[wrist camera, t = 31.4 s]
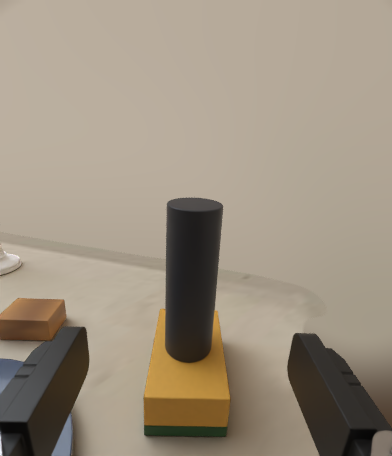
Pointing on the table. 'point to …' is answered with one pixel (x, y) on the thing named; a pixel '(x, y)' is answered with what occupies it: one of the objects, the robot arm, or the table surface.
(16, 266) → the chess piece
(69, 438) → the plate
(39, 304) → the orange brown rectangular block
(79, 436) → the table surface
